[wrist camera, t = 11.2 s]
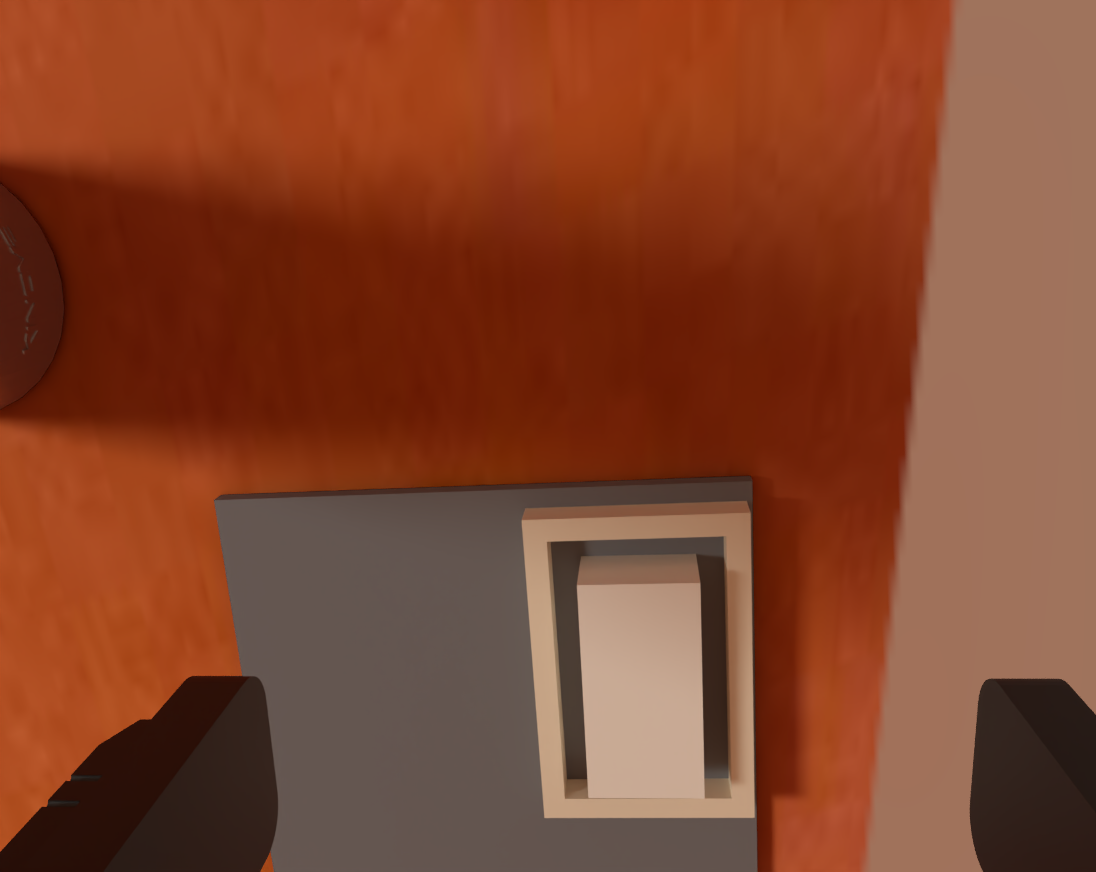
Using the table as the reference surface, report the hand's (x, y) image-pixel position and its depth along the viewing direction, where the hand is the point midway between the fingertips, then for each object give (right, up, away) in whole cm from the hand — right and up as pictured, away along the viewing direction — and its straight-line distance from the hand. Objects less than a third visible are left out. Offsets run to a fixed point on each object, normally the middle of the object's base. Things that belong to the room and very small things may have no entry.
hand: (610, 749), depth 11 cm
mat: (-3, -6, +26) cm, 27 cm away
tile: (+3, -4, +24) cm, 25 cm away
